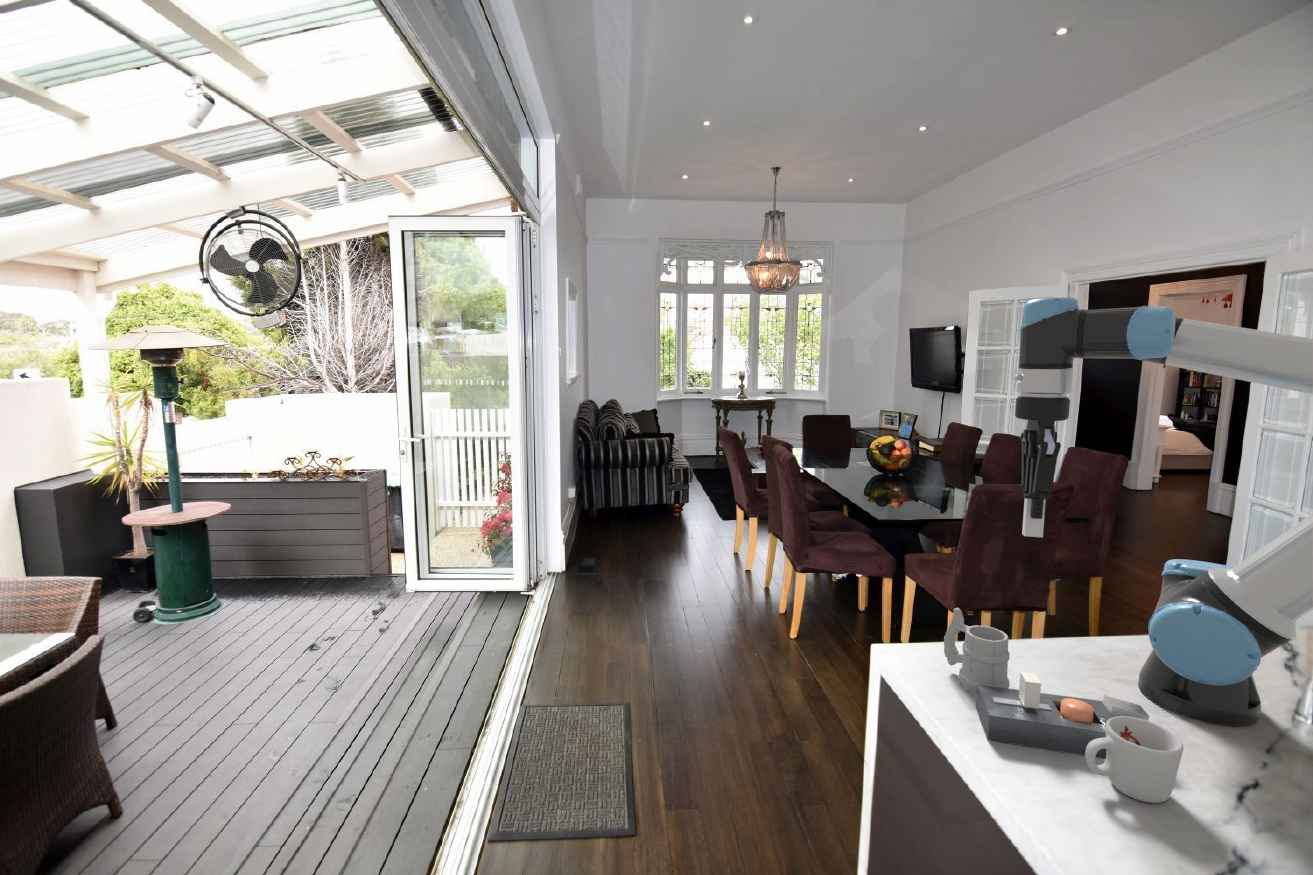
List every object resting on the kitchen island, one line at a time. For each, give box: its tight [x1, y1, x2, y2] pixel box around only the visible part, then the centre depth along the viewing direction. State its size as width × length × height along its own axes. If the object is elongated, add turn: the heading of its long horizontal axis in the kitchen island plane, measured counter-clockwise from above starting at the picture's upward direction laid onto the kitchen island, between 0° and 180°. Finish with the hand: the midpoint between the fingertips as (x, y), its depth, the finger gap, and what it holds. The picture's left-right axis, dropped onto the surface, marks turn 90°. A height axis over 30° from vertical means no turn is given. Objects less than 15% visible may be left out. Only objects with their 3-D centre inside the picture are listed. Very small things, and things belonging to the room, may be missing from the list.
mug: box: [943, 607, 1010, 696], centre depth 107 cm, size 8×12×12 cm, turn 26°
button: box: [1060, 698, 1094, 723], centre depth 92 cm, size 4×4×5 cm
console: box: [975, 684, 1119, 760], centre depth 93 cm, size 21×9×5 cm, turn 73°
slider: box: [1018, 671, 1042, 709], centre depth 93 cm, size 2×3×4 cm, turn 163°
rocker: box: [1101, 695, 1150, 721], centre depth 90 cm, size 5×3×1 cm, turn 73°
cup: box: [1084, 716, 1184, 804], centre depth 81 cm, size 11×8×8 cm
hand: (1032, 535), depth 104 cm, fingers closed
